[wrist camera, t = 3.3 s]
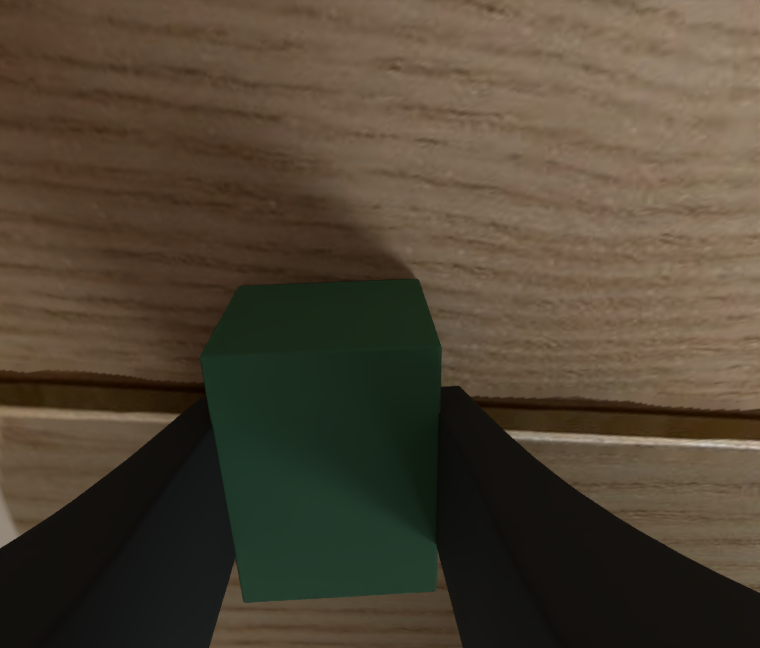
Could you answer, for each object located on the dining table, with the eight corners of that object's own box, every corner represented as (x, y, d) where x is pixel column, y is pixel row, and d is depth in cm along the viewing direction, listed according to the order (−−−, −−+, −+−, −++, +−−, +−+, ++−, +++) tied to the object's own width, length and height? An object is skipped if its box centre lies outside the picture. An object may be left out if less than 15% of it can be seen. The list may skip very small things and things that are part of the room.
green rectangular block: (418, 482, 13) (436, 593, 10) (266, 490, 13) (242, 604, 10) (419, 277, 11) (442, 345, 8) (238, 285, 11) (197, 356, 8)
